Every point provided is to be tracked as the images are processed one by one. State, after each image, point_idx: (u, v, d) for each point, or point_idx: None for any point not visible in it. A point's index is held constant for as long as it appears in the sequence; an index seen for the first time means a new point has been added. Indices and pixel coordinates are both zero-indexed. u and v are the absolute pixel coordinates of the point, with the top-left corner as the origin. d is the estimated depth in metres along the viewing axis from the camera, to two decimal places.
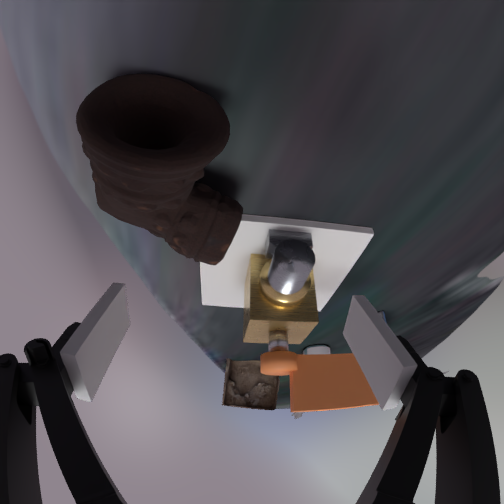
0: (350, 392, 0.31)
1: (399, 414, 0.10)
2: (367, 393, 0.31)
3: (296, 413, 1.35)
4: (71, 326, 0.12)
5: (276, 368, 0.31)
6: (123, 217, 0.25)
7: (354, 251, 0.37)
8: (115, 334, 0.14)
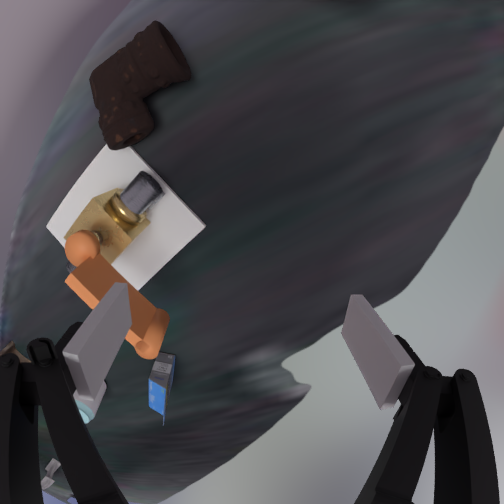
0: None
1: (397, 413, 0.10)
2: (137, 325, 0.31)
3: (44, 480, 0.69)
4: (73, 326, 0.12)
5: (82, 238, 0.31)
6: (99, 83, 0.32)
7: (183, 237, 0.46)
8: (117, 333, 0.14)
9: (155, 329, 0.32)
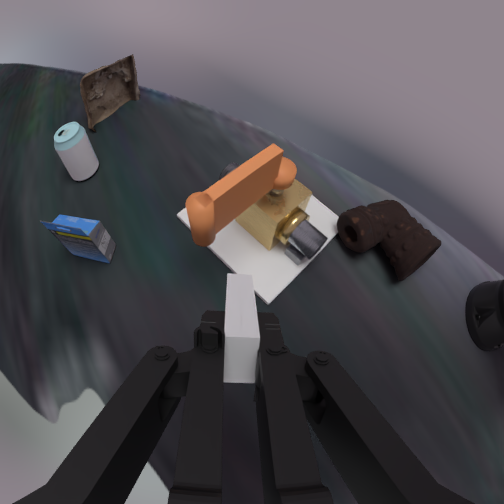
0: (239, 192, 0.32)
1: (256, 396, 0.11)
2: (223, 202, 0.31)
3: None
4: (205, 314, 0.14)
5: (293, 173, 0.38)
6: (390, 206, 0.49)
7: (256, 281, 0.46)
8: None
9: (212, 221, 0.31)
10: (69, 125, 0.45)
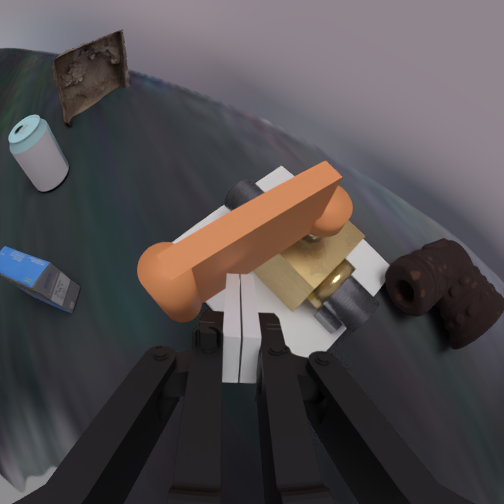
0: (249, 246, 0.17)
1: (257, 396, 0.11)
2: (214, 265, 0.16)
3: None
4: (204, 314, 0.14)
5: (346, 213, 0.23)
6: (451, 250, 0.33)
7: None
8: None
9: (190, 298, 0.16)
10: (30, 119, 0.30)
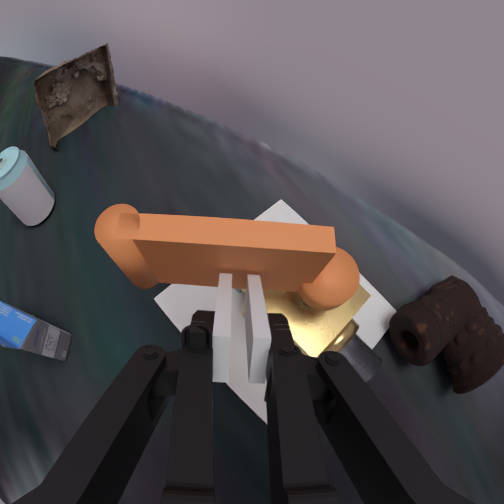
0: (202, 258, 0.17)
1: (266, 396, 0.11)
2: (161, 252, 0.16)
3: None
4: (196, 314, 0.14)
5: (341, 296, 0.20)
6: (460, 293, 0.30)
7: None
8: None
9: (131, 265, 0.17)
10: (9, 151, 0.28)
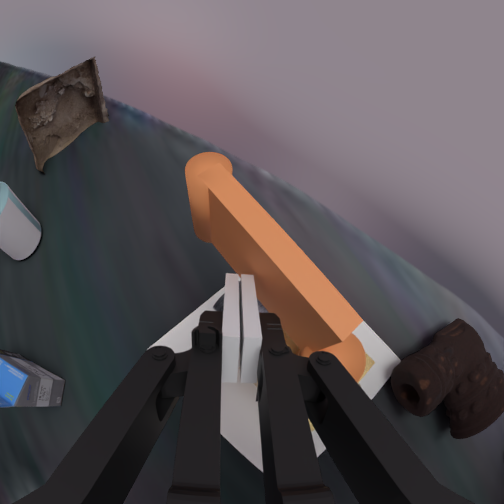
0: (246, 249, 0.17)
1: (258, 396, 0.11)
2: (222, 217, 0.17)
3: None
4: (203, 314, 0.14)
5: None
6: (465, 340, 0.28)
7: None
8: None
9: (196, 207, 0.19)
10: None
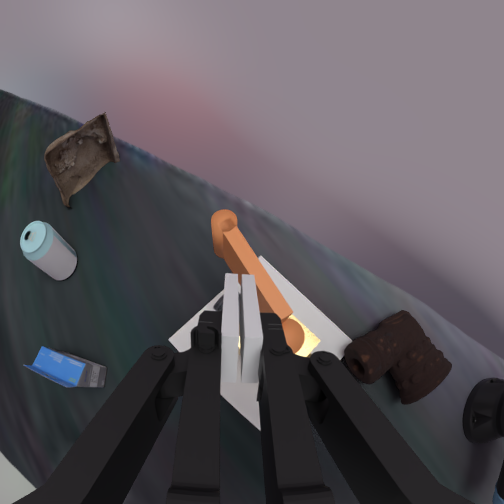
0: (240, 267, 0.31)
1: (258, 396, 0.11)
2: (229, 248, 0.32)
3: None
4: (203, 314, 0.14)
5: None
6: (404, 327, 0.42)
7: (255, 416, 0.40)
8: None
9: (216, 239, 0.33)
10: (35, 224, 0.39)
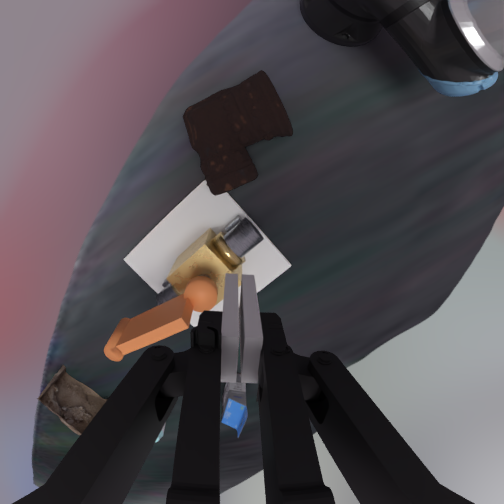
0: None
1: (258, 396, 0.11)
2: None
3: None
4: (203, 314, 0.14)
5: (210, 305, 0.38)
6: (202, 126, 0.39)
7: (270, 274, 0.52)
8: None
9: None
10: None
